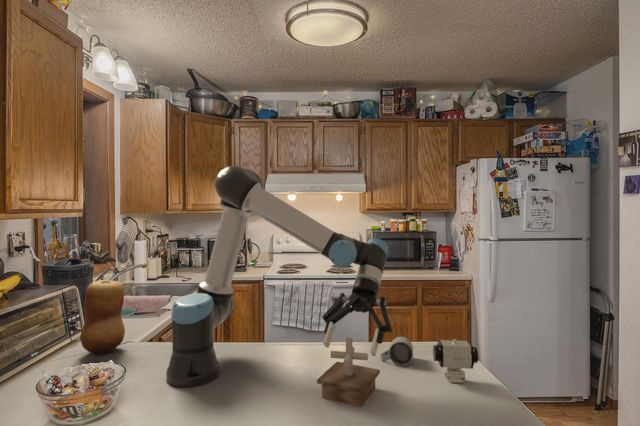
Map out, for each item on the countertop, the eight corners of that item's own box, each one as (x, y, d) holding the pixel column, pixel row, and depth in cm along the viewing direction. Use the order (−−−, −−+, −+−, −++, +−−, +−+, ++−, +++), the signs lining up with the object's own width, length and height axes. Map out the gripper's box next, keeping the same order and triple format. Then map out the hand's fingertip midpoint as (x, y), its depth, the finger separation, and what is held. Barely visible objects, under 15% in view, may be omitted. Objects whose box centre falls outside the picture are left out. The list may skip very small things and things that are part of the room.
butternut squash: (123, 356, 127) (122, 283, 127) (76, 363, 122) (75, 286, 122) (126, 343, 140) (126, 276, 140) (84, 348, 135) (84, 279, 135)
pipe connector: (366, 384, 96) (365, 344, 96) (328, 380, 98) (327, 342, 98) (369, 367, 106) (368, 332, 106) (334, 365, 108) (333, 330, 108)
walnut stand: (317, 398, 99) (317, 379, 99) (336, 378, 111) (336, 361, 111) (364, 409, 93) (364, 389, 93) (379, 387, 105) (379, 369, 105)
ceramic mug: (413, 357, 126) (412, 334, 126) (413, 367, 118) (412, 342, 118) (381, 355, 129) (380, 332, 129) (379, 364, 121) (378, 340, 121)
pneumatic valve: (432, 376, 112) (432, 335, 112) (473, 378, 110) (473, 337, 110) (436, 384, 106) (436, 342, 106) (479, 387, 105) (479, 344, 105)
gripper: (410, 294, 111) (397, 364, 98) (333, 286, 122) (312, 348, 109) (406, 279, 106) (391, 350, 93) (326, 273, 117) (303, 335, 104)
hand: (348, 349), depth 101 cm, fingers open, 13 cm apart
